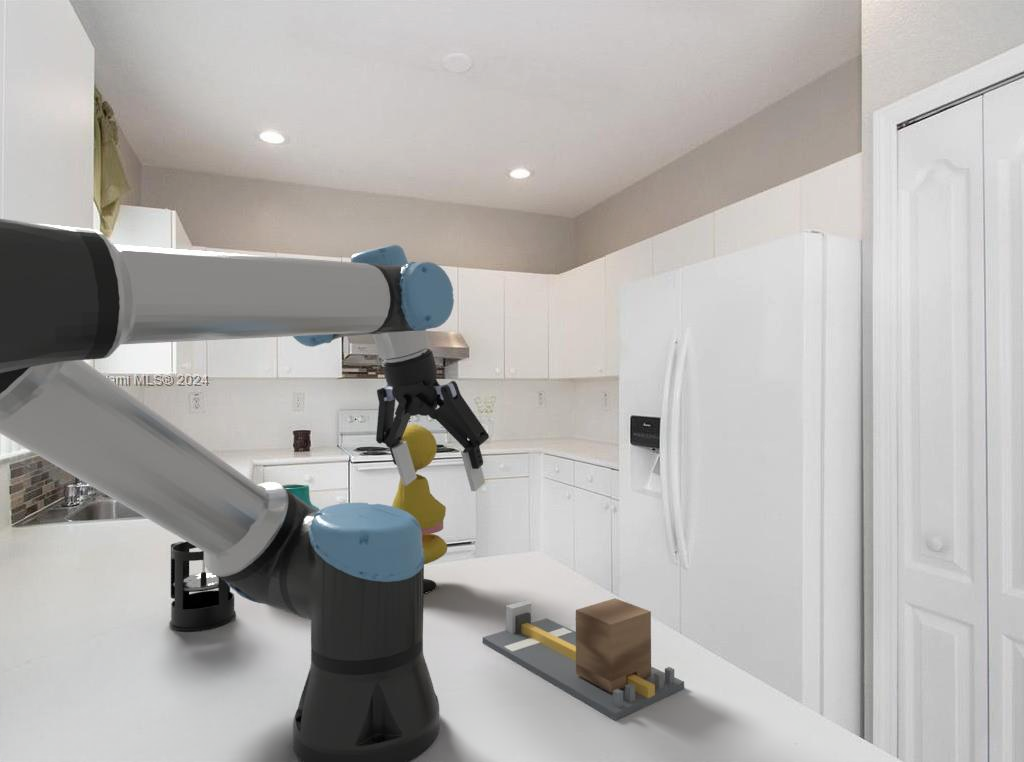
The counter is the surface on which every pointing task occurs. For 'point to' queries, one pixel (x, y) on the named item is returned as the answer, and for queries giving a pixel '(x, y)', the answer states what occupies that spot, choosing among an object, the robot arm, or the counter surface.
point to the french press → (197, 594)
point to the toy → (422, 496)
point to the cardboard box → (613, 643)
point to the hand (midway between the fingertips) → (442, 484)
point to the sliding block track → (573, 664)
